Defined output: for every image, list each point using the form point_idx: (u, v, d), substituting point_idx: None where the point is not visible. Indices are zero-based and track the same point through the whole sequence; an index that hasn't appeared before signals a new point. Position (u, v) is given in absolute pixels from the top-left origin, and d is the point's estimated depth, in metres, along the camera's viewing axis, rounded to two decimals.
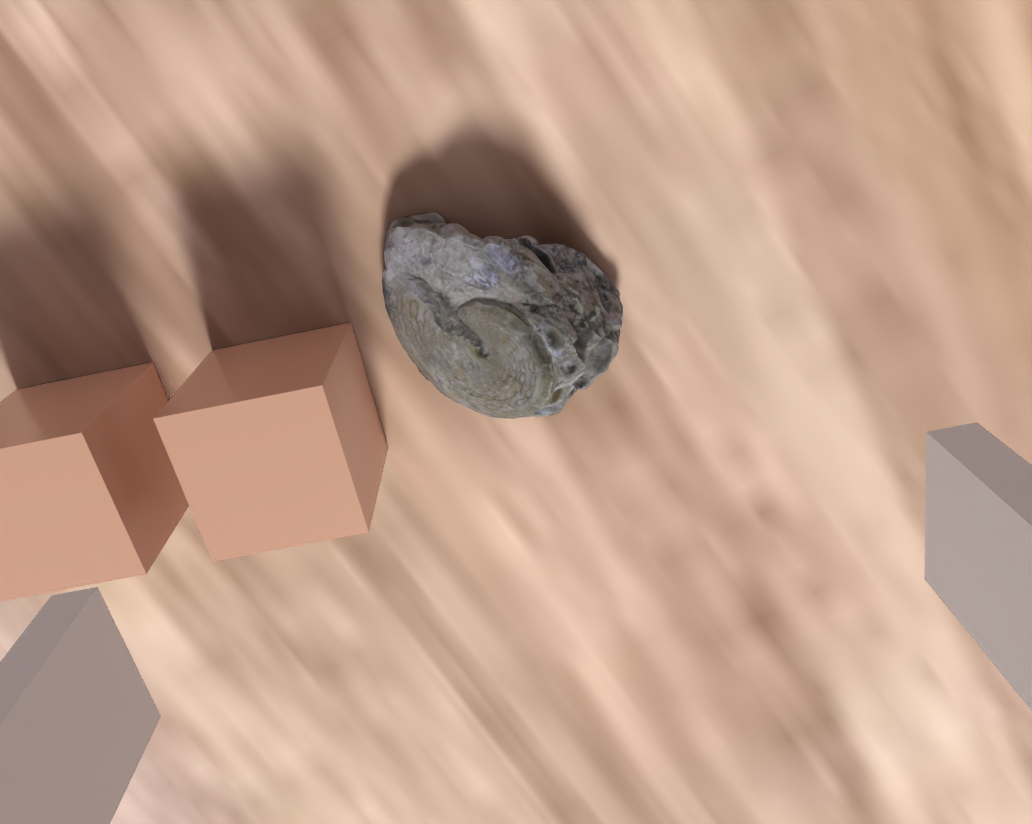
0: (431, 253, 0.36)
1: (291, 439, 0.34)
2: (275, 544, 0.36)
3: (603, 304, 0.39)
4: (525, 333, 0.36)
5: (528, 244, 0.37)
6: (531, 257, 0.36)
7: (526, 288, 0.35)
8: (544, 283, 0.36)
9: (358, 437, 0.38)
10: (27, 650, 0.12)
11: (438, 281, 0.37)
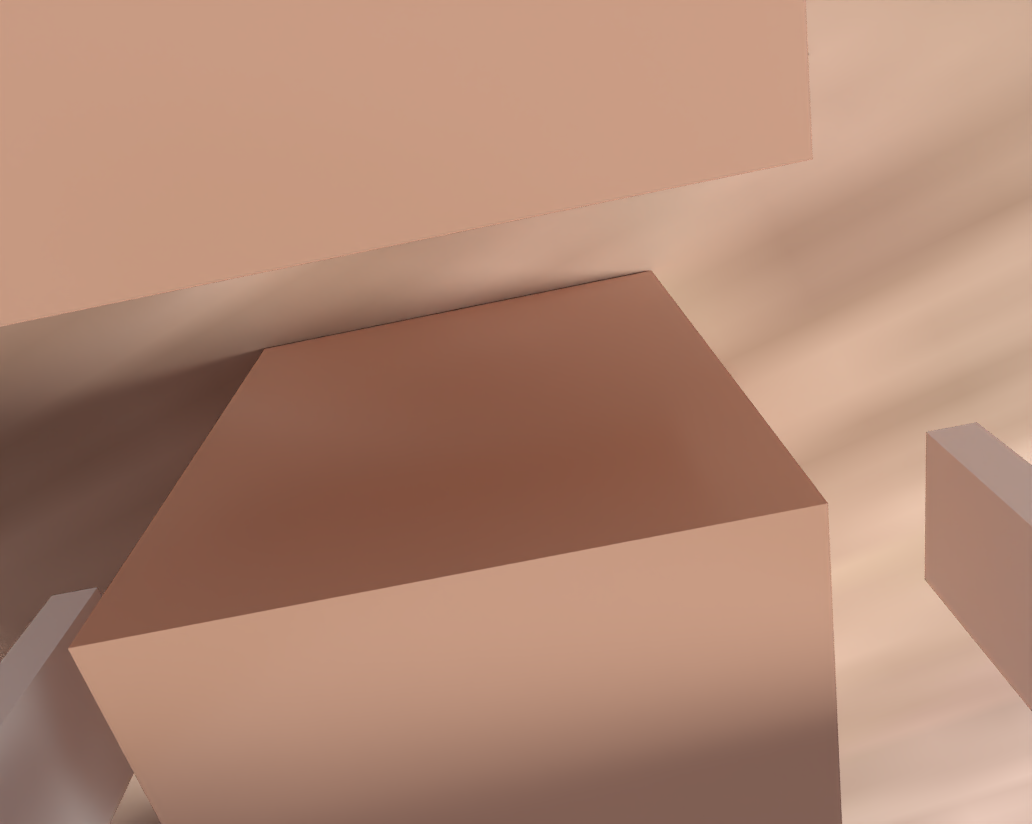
0: None
1: None
2: None
3: None
4: None
5: None
6: None
7: None
8: None
9: None
10: (27, 651, 0.12)
11: None
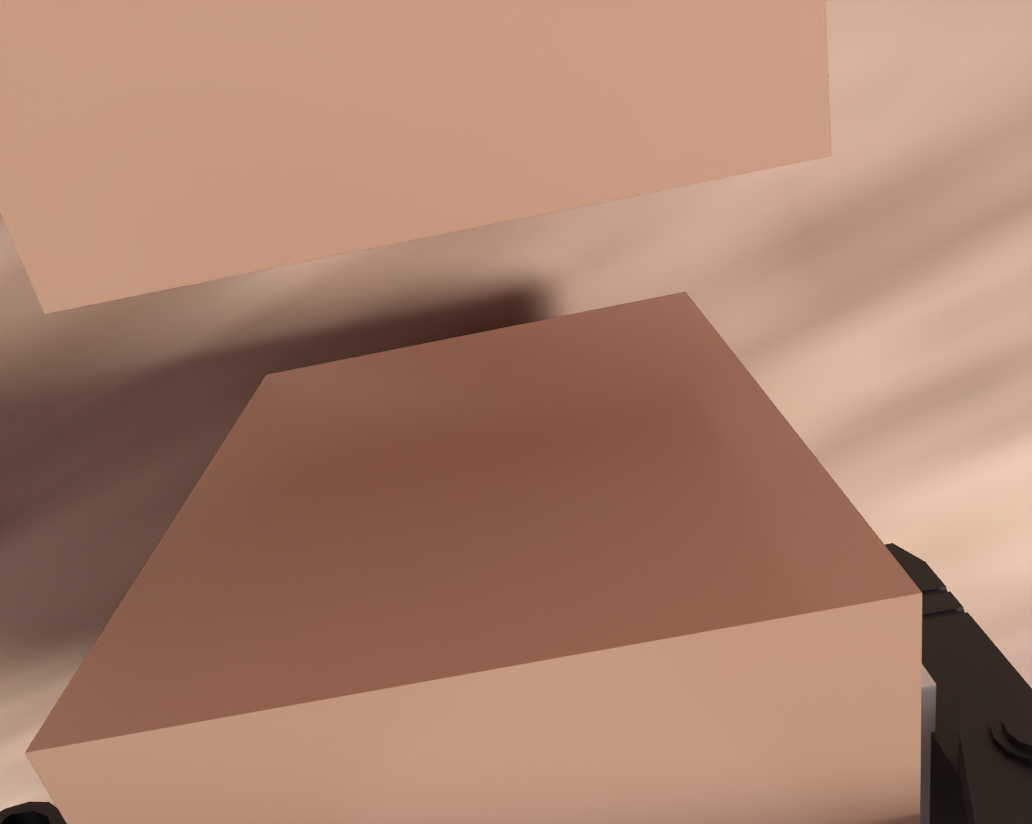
0: None
1: None
2: None
3: None
4: None
5: None
6: None
7: None
8: None
9: None
10: None
11: None
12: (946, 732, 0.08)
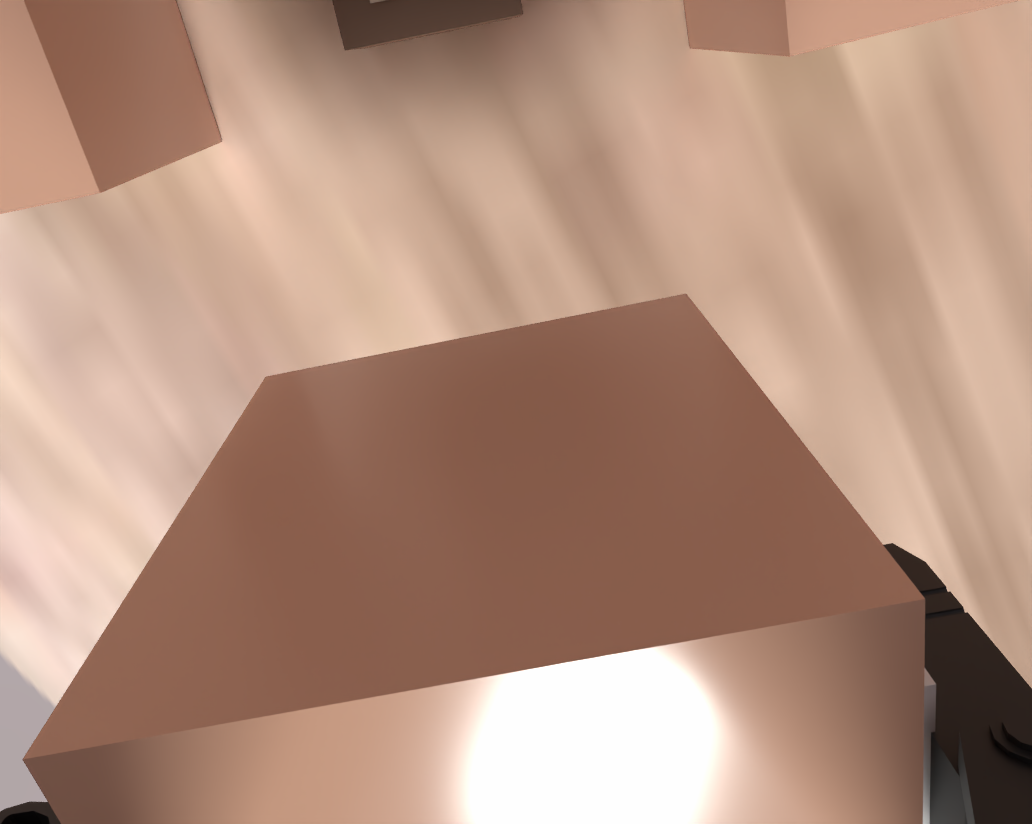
0: None
1: None
2: (952, 2, 0.15)
3: None
4: None
5: None
6: None
7: None
8: None
9: None
10: None
11: None
12: (946, 732, 0.08)
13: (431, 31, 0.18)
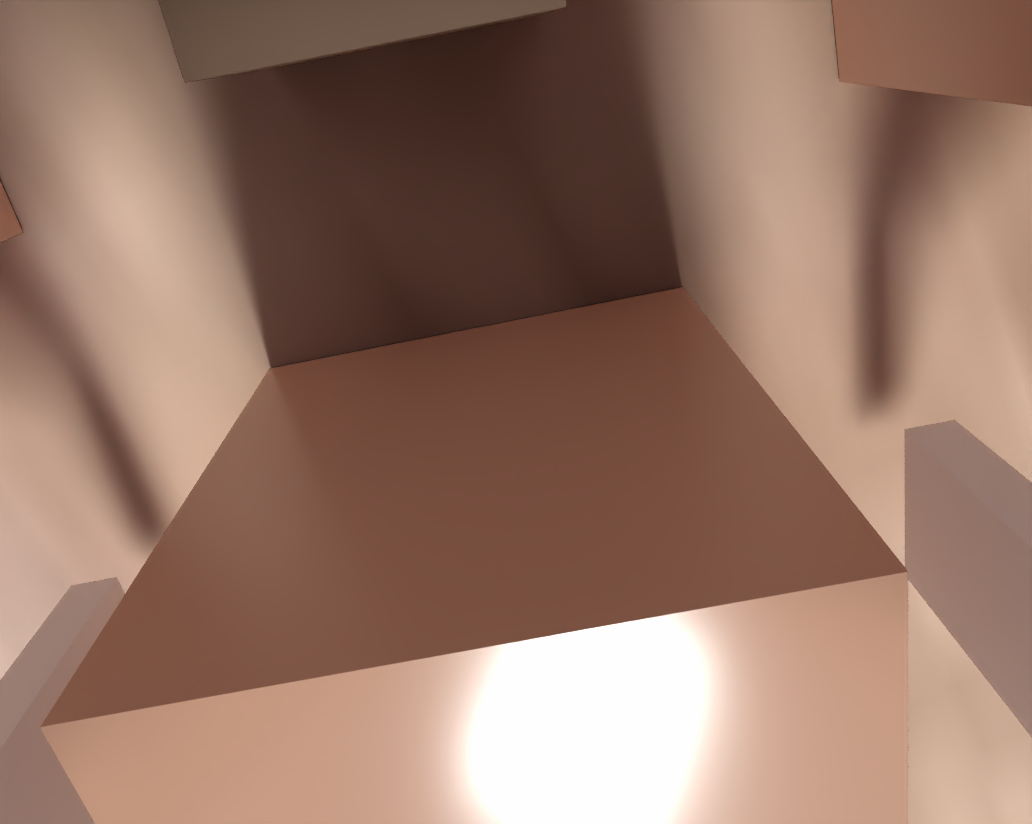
0: None
1: None
2: None
3: None
4: None
5: None
6: None
7: None
8: None
9: None
10: (50, 638, 0.12)
11: None
12: None
13: (370, 43, 0.09)
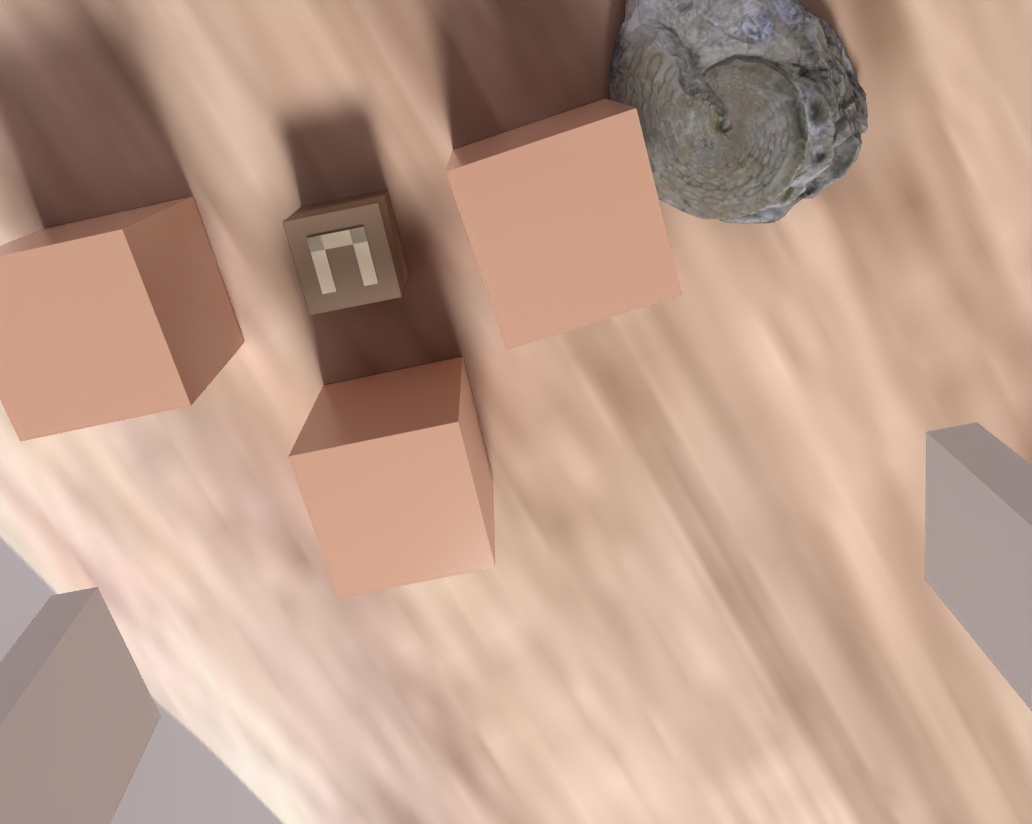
0: None
1: (599, 182, 0.30)
2: (576, 322, 0.32)
3: None
4: (789, 98, 0.32)
5: None
6: (811, 13, 0.32)
7: (804, 42, 0.31)
8: (821, 44, 0.32)
9: None
10: (27, 651, 0.12)
11: (694, 32, 0.33)
12: None
13: (354, 305, 0.36)
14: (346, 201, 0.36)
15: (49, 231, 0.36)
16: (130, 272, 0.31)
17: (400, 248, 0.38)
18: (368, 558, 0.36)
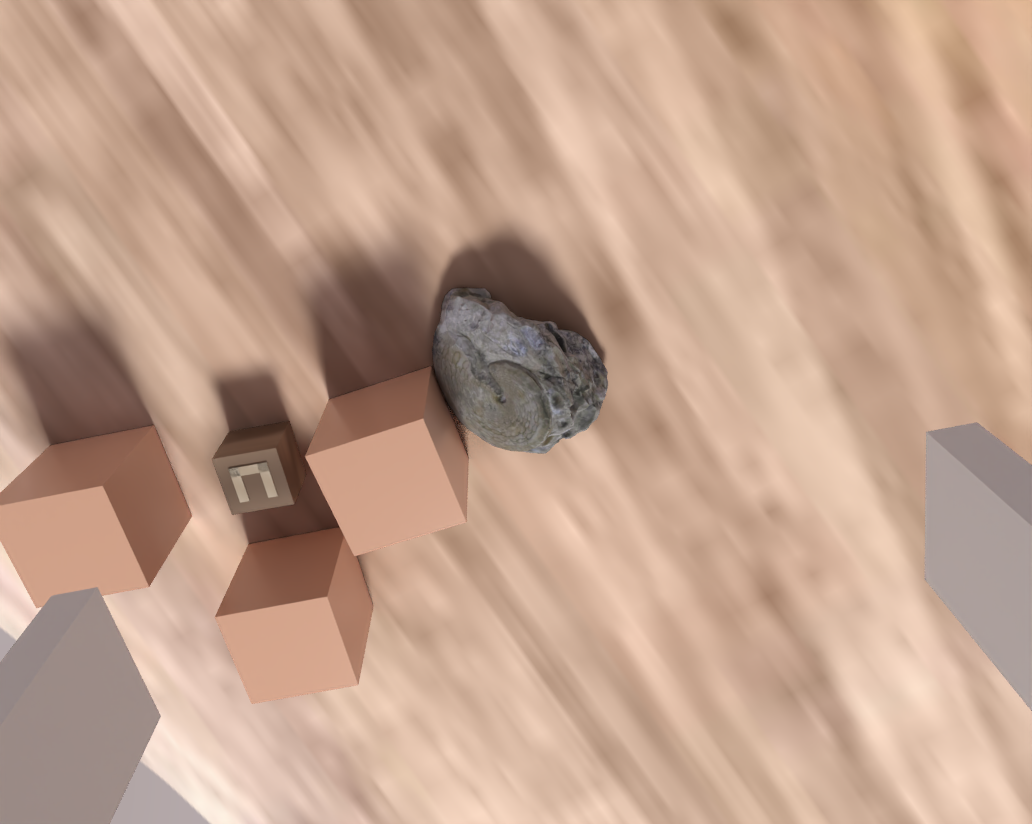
0: (480, 321, 0.49)
1: (404, 460, 0.47)
2: (399, 539, 0.49)
3: (595, 380, 0.52)
4: (537, 393, 0.49)
5: (550, 328, 0.50)
6: (552, 340, 0.48)
7: (545, 362, 0.48)
8: (558, 360, 0.49)
9: (449, 452, 0.50)
10: (27, 650, 0.12)
11: (480, 342, 0.49)
12: None
13: (262, 509, 0.52)
14: (258, 434, 0.53)
15: (54, 455, 0.53)
16: (108, 510, 0.47)
17: (298, 459, 0.55)
18: (271, 679, 0.53)
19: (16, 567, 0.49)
